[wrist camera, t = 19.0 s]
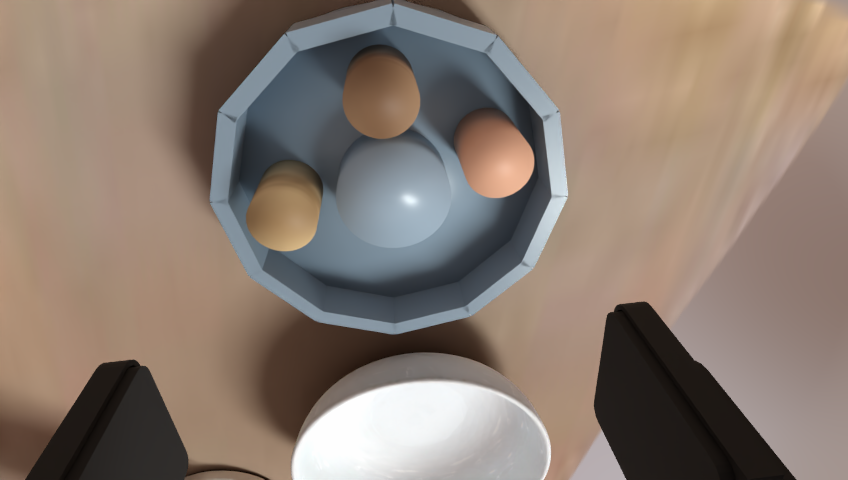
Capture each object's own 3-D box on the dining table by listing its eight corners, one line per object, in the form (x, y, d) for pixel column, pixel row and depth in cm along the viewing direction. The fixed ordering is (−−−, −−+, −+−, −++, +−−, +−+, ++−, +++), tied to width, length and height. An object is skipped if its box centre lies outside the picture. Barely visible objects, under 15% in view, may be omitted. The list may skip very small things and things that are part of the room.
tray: (299, 323, 40) (292, 359, 37) (167, 56, 29) (140, 72, 26) (559, 259, 39) (577, 290, 36) (524, -43, 28) (544, -40, 25)
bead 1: (327, 212, 34) (321, 248, 30) (267, 217, 34) (254, 253, 30) (318, 157, 32) (311, 187, 28) (254, 162, 32) (238, 193, 28)
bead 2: (411, 41, 29) (417, 58, 25) (416, 110, 31) (422, 135, 27) (341, 47, 29) (336, 65, 25) (350, 115, 31) (348, 142, 27)
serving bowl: (387, 277, 39) (389, 338, 33) (575, 379, 47) (604, 443, 41) (258, 432, 47) (241, 504, 41) (437, 497, 54) (445, 566, 49)
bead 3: (460, 174, 34) (471, 205, 30) (447, 117, 32) (457, 142, 28) (519, 158, 33) (538, 188, 30) (510, 100, 31) (529, 123, 28)
